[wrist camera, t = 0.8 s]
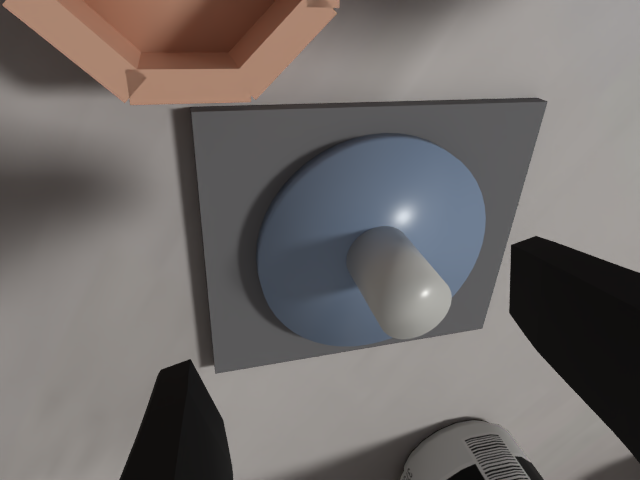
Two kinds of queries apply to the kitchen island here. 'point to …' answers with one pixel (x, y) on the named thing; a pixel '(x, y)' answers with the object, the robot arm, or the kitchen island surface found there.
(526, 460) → the supplement can
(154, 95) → the bowl
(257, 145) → the mat
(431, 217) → the lid
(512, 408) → the kitchen island surface
